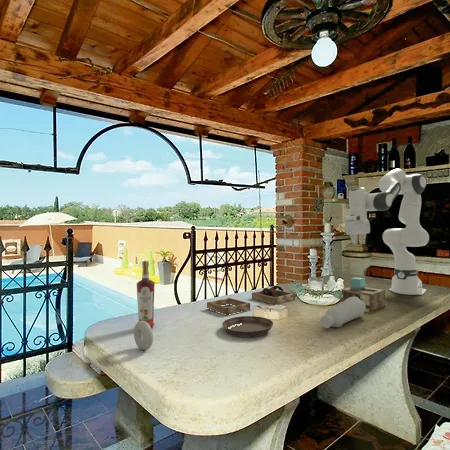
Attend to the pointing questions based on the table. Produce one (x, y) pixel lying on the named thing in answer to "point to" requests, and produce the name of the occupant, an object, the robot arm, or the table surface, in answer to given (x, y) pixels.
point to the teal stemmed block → (357, 285)
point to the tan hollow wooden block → (374, 297)
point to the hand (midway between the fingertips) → (358, 242)
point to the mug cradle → (273, 300)
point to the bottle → (343, 312)
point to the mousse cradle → (237, 308)
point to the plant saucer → (248, 326)
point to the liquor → (146, 296)
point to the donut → (143, 335)
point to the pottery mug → (271, 291)
